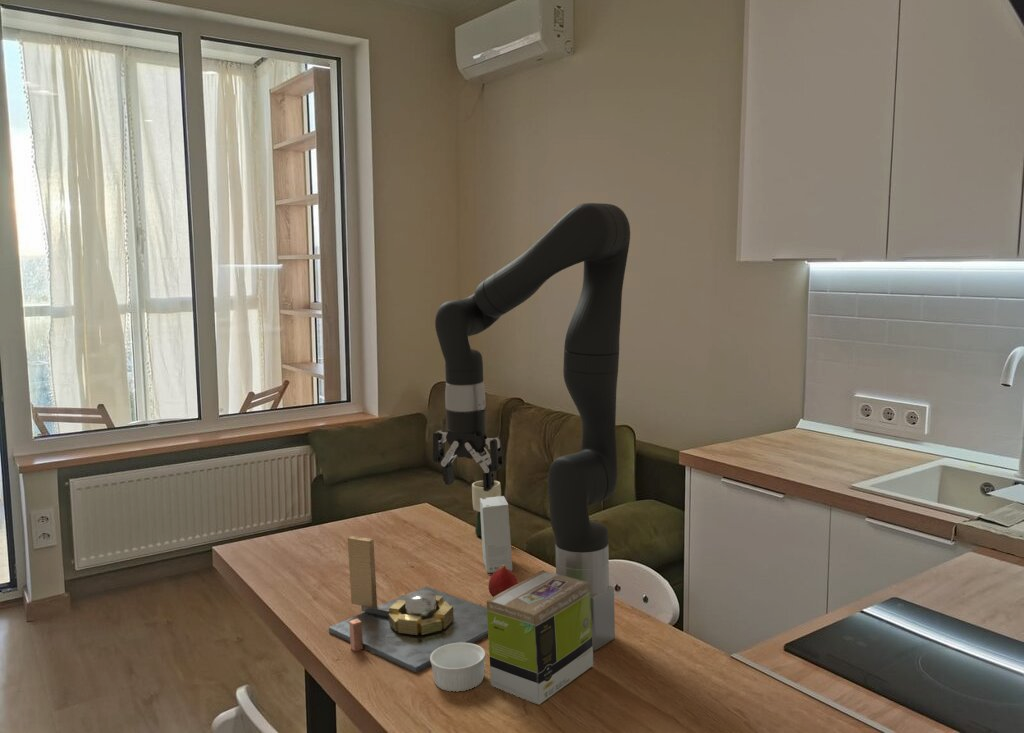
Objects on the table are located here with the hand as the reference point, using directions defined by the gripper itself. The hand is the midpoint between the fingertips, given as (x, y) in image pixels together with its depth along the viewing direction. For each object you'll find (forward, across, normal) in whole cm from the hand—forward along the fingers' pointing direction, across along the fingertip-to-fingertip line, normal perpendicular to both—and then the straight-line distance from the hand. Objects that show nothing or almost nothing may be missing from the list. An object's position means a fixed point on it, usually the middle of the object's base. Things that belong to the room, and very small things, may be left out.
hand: (468, 486), depth 154 cm
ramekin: (+22, +13, -27) cm, 37 cm away
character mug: (+27, -17, +36) cm, 48 cm away
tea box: (+22, +25, -21) cm, 39 cm away
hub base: (+23, -3, -14) cm, 27 cm away
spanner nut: (+22, -7, -12) cm, 26 cm away
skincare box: (+26, -5, +19) cm, 32 cm away
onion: (+24, +6, +2) cm, 25 cm away
